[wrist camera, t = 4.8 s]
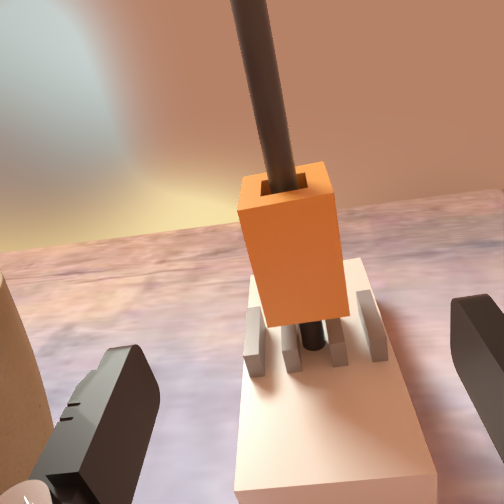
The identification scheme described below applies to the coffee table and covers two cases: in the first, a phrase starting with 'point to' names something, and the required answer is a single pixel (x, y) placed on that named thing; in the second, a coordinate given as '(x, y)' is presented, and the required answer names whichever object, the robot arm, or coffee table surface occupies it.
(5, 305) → the plant pot
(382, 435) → the stand
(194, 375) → the coffee table surface
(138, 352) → the robot arm
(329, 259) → the sleeve
